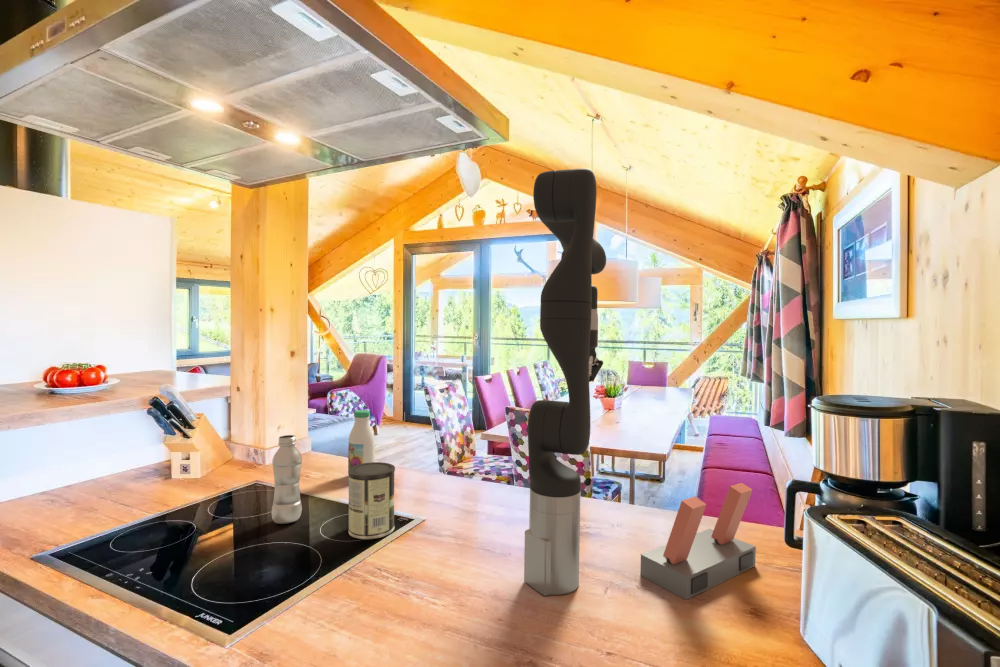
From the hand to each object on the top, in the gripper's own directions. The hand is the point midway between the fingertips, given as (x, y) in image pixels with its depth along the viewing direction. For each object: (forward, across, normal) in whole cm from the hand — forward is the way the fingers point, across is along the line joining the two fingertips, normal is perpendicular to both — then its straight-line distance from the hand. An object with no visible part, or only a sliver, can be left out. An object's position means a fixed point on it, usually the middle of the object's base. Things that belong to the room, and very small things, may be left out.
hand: (580, 399), depth 122 cm
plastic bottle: (+29, -60, +35) cm, 75 cm away
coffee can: (+29, -45, +20) cm, 57 cm away
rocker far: (+24, +9, -32) cm, 41 cm away
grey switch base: (+29, +2, -32) cm, 43 cm away
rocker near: (+24, -6, -32) cm, 41 cm away
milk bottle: (+29, -34, +59) cm, 74 cm away
